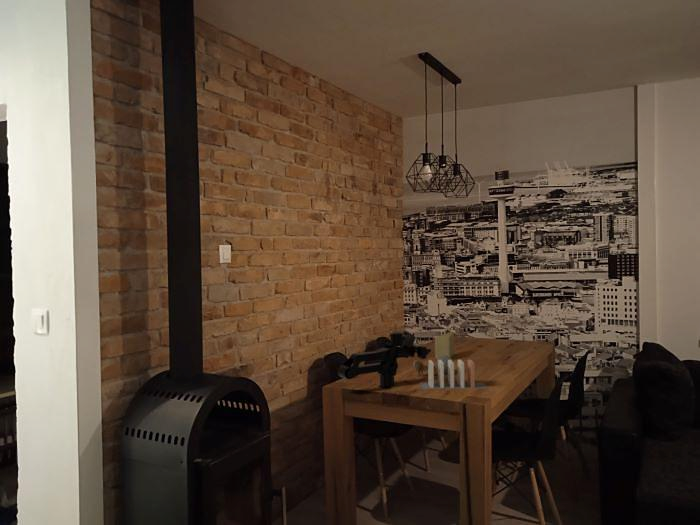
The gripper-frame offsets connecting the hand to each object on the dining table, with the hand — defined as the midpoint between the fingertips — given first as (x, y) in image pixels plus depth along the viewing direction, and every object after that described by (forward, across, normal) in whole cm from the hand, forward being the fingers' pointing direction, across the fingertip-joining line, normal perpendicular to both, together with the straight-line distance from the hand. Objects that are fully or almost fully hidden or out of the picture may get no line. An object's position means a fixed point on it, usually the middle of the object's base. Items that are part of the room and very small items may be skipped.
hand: (425, 348), depth 300 cm
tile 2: (-3, -16, +16) cm, 22 cm away
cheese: (+55, +41, +17) cm, 70 cm away
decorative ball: (+20, +6, +17) cm, 27 cm away
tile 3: (+1, -18, +16) cm, 24 cm away
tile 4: (+5, -21, +16) cm, 27 cm away
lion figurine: (+7, +8, +17) cm, 20 cm away
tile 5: (+9, -24, +16) cm, 30 cm away
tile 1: (-7, -13, +16) cm, 22 cm away
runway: (+2, -19, +16) cm, 25 cm away
